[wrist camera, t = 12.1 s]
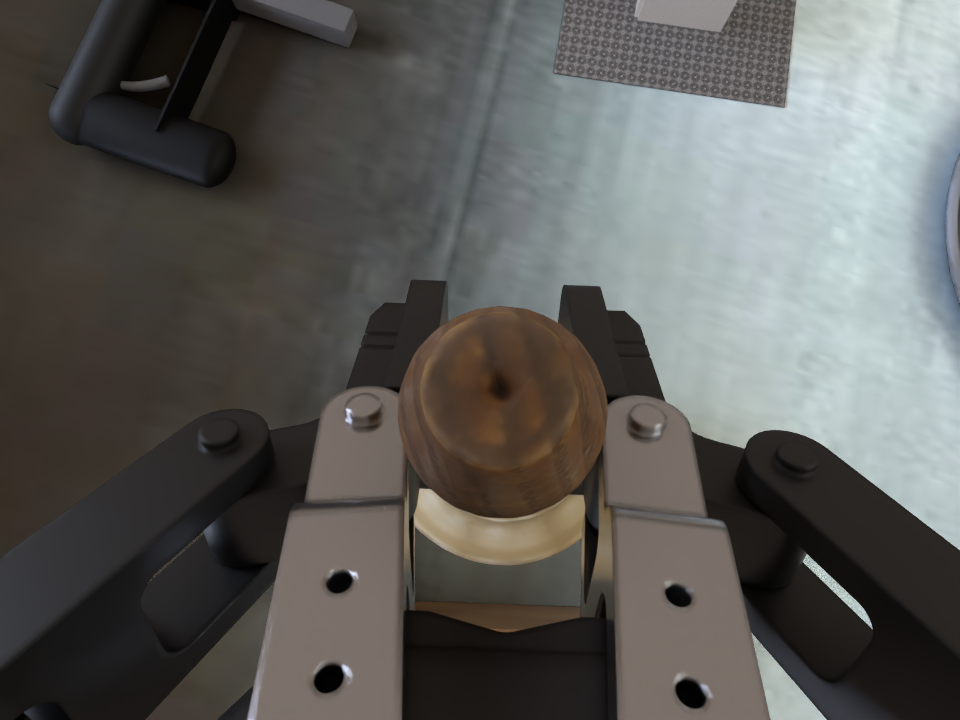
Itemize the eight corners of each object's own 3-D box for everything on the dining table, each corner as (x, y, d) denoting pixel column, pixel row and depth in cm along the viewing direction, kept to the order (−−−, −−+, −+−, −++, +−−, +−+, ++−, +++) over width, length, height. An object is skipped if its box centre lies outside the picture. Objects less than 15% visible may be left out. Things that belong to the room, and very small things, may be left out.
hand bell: (527, 618, 20) (660, 1275, 4) (332, 460, 21) (-203, 468, 5) (675, 414, 21) (1267, 273, 5) (481, 272, 22) (442, -237, 6)
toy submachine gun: (384, -78, 39) (147, -161, 39) (266, 204, 36) (10, 114, 36) (389, -38, 42) (171, -114, 42) (281, 223, 39) (48, 141, 39)
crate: (612, 622, 34) (633, 651, 29) (373, 614, 35) (354, 640, 30) (611, 383, 36) (631, 373, 31) (386, 377, 37) (370, 365, 32)
